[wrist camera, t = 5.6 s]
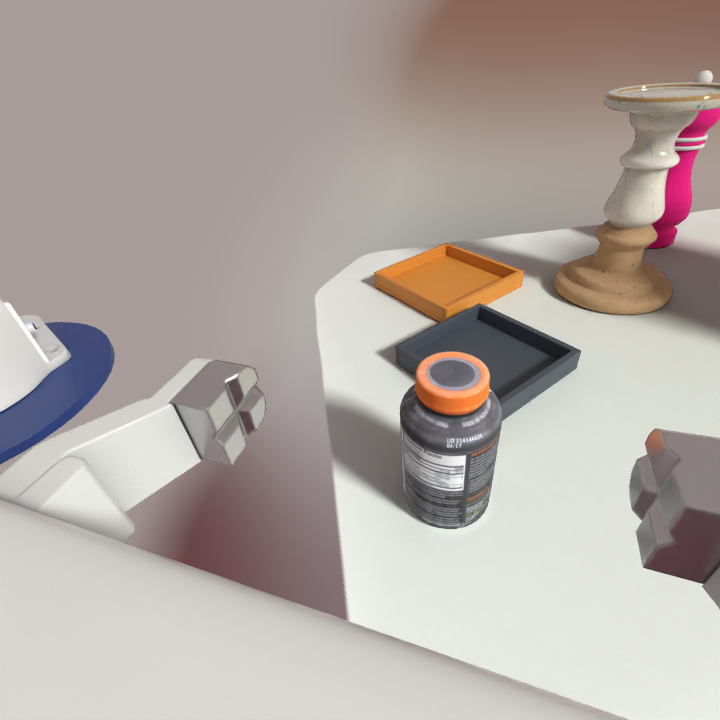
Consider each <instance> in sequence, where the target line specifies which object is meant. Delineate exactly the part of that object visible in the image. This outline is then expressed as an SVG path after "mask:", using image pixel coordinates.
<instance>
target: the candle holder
mask: <svg viewBox="0 0 720 720" xmlns="http://www.w3.org/2000/svg"><path fill="white" fill-rule="evenodd" d="M604 105H605V106H607V107H608V108H610V109H613V110H618V111H625V112H629V113H630V123H631V125H632V126H633V127H634V129H635V141H634V144H633V146H632V147H631V149H630V150H629V151H627V152H626V153H624V154H623V155H622V156H621V157H620V163H621V164H622V165H623V166H624V167H625V168H624V171H623V173H622V176H621V178H620V180H619V182H618V184H617V186H616V188H615V189H614V191H613V193H612V194H611V196H610V197H609V199H608V201H607V202H606V204H605V207H604V214H605V216H606V218H607V219H608V221H606V222H605V223H604V224H603V225H601V226H599V227H598V228H597V230H596V236H597V238H598V240H599V242H600V245H599V247H598V250H597V252H596V254H595V255H589V256H585V257H582V258H580V259H578V260H574V261H571V262H568V263H566V264H564V265H563V266H561V267H560V268H559V269H558V270H557V272H556V274H555V276H554V286H555V289H556V290H557V292H558V293H559V294H560V295H561V296H562V297H563V298H565V299H566V300H568V301H570V302H572V303H574V304H576V305H578V306H581V307H584V308H587V309H590V310H594V311H598V312H604V313H610V314H628V315H629V314H641V313H647V312H651V311H655V310H657V309H659V308H661V307H663V306H664V305H665V304H666V303H667V302H668V301H669V300H670V298H671V295H672V292H673V289H672V284H671V282H670V281H669V279H668V278H667V277H666V276H665V275H664V274H662V273H661V272H659V271H658V270H656V268H654V267H653V266H652V265H650V264H649V263H647V262H645V261H642V260H643V255H644V250H645V248H646V247H647V246H649V245H650V244H652V243H653V242H654V241H655V240H656V239H657V232H656V231H655V230H654V227H653V226H652V225H651V224H652V223H654V222H656V221H657V220H659V219H660V218H661V216H662V215H663V213H664V210H665V186H666V179H667V174H668V170H669V168H672V167H674V166H675V165H677V164H678V162H679V161H680V158H679V155H678V154H677V153H676V152H675V142H676V139H677V137H678V136H679V134H680V133H681V131H682V130H683V129H684V128H685V127H687V126H689V125H690V124H691V123H692V122H693V121H694V120H695V119H696V117H697V116H698V114H699V113H700V111H704V110H712V109H718V108H720V83H664V84H650V85H639V86H630V87H624V88H619V89H615V90H612V91H609V92H607V94H606V95H605V98H604Z"/></svg>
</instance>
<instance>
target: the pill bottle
mask: <svg viewBox="0 0 720 720" xmlns="http://www.w3.org/2000/svg"><path fill="white" fill-rule="evenodd" d="M489 381H490V374H489V370H488V368H487V367H486V365H485V364H484V363H483V362H482V361H481V360H479V359H478V358H476V357H474V356H472V355H469V354H466V353H461V352H441V353H436V354H433V355H431V356H429V357H427V358H425V359H424V360H423V361H422V362H421V363H420V364H419V366H418V368H417V370H416V383H415V384H414V385H413V386H412V387H411V388H410V389H409V390H408V391H407V392H406V394H405V395H404V397H403V399H402V402H401V405H400V424H401V447H402V467H403V486H404V496H405V499H406V502H407V504H408V506H409V507H410V509H411V510H412V512H413V513H414V514H415V515H416V516H417V517H418V518H420V519H421V520H423V521H424V522H426V523H427V524H429V525H432V526H435V527H438V528H443V529H457V528H463V527H466V526H468V525H470V524H472V523H474V522H476V521H477V520H478V519H479V518H480V517H481V516H482V515H483V513H484V512H485V510H486V508H487V506H488V502H489V497H490V492H491V486H492V479H493V473H494V467H495V461H496V454H497V448H498V442H499V436H500V430H501V424H502V409H501V406H500V403H499V401H498V399H497V397H496V396H495V394H494V393H493V392H492V391H491V390H490V389H489Z"/></svg>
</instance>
